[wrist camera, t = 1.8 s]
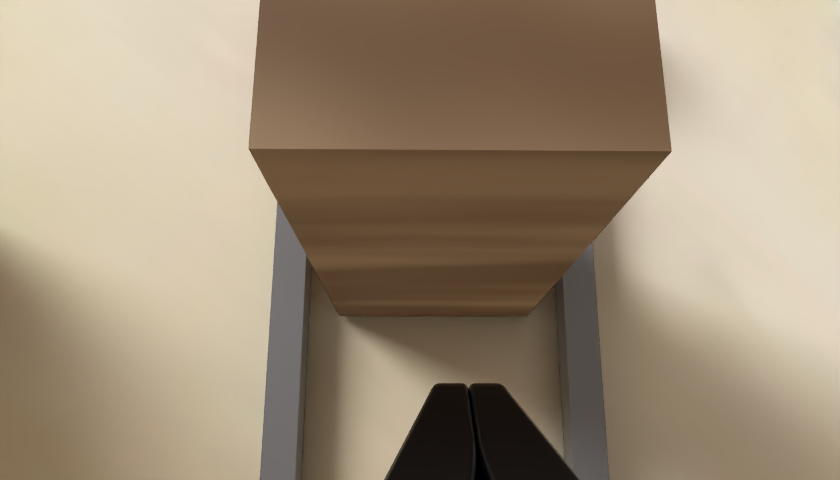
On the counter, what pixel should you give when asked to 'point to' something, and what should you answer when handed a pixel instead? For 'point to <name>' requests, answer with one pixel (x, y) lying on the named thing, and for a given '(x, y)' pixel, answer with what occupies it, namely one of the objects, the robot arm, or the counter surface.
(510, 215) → the brown wooden tall block
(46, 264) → the counter surface
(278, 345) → the twin grey rails
